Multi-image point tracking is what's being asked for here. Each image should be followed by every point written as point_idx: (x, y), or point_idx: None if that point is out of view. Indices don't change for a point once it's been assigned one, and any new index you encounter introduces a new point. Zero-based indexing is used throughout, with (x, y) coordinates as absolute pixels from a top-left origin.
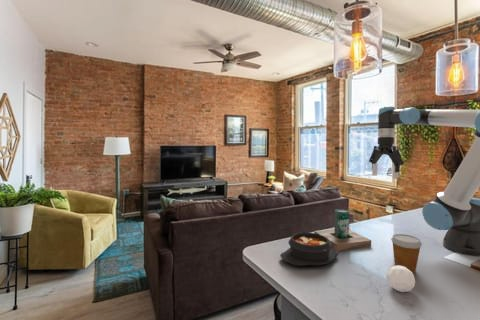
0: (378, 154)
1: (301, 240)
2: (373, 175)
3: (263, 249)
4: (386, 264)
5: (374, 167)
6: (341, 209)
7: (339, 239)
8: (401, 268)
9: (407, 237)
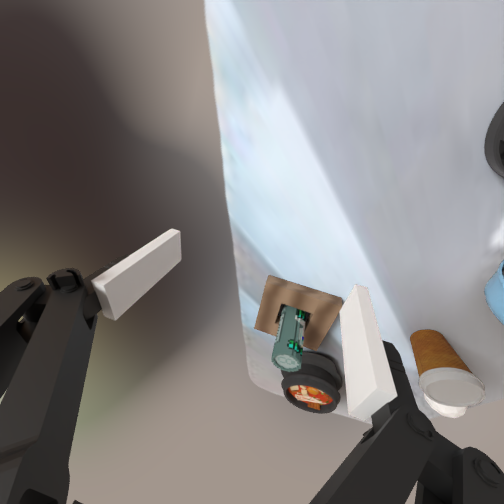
0: (68, 485)
1: (296, 391)
2: (180, 258)
3: (262, 377)
4: (395, 338)
5: (140, 289)
6: (277, 355)
7: (304, 334)
8: (453, 417)
9: (453, 385)
